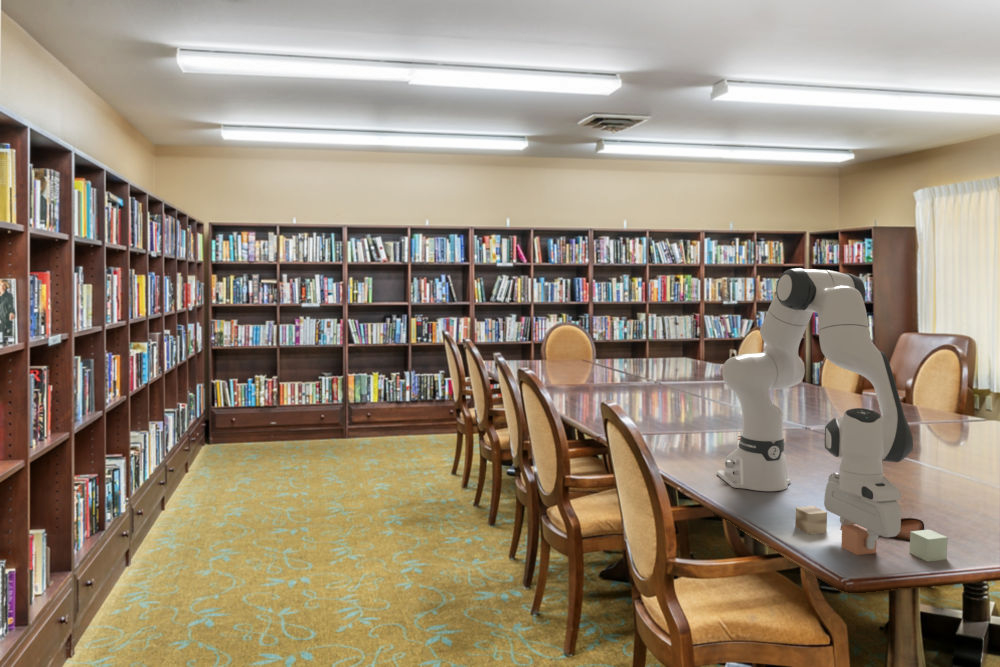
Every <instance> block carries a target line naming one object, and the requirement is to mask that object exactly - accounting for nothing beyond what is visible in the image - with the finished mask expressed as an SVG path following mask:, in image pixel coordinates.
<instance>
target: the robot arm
mask: <svg viewBox="0 0 1000 667" xmlns="http://www.w3.org/2000/svg"><path fill="white" fill-rule="evenodd" d="M776 283H777V284H776V289H775V290H776V293H775V296H774V297H773V299H772V301H771V303H770V305H769V307H768V310H767V312H766V314H765V316H764V318H763V321H762V323H761V326H760V329H759V334H760V337H761V339H762V340H763V342H764V343H765V344H766V347H765V349H764V350H763V351H761V352H753V353H742V354H738V355H735V356H732V357H730V358H728V359H727V360H725V362H724V364H723V367H722V379H723V382H724V383H725V385H726V386H727V388H728V389H730V390H731V391H732V392H733V393H734V394H735V395H736V397H737V399H738V402H739V404H740V408H741V414H742V415H741V417H742V420H741V421H742V423H741V424H742V435H738V436H737V440H738V445H737V446H738V447H737V448H736V449H735V450H733V451H732V452H731V453H730V454H727V455H726V457H725V461H724V468H723V469H719V470H717V471H716V475H717V476H718V477H719V478H721V480H723V481H724V482H726V483H727V484H728V485H730V486H731V487H732V488H735V489H736V488H737V489H746V490H750V491H751V490H752V491H759V492H777V491H784V490H786V489H787V488H788V487H789V486H788V485H790V484H791V478H788V466H787V465H788V463H787V455H785V454H784V453H783V452H784V451H785V438H783V435H784V433H783V431H784V425H783V424H784V414H783V411H782V410H781V408H780V407H779V406H777V405H776V404H774V403H773V402H772V399H771V396H770V391H774V390H776V391H777V390H784V389H789V388H791V387H794V386H797V385H799V384H800V383H801V382H802V381H803V379H804V378H805V372H806V369H805V364H804V360H803V359H802V357H800V356H799V348H800V344H801V341H802V339H803V337H804V334H805V333H806V332H805V331H806V330H807V327H808V325H809V323H810V320H811V318H812V315H813V314H814V313H815V314H817V317H818V338H819V347H820V351H821V352H822V354H823V356H824V357H825V358H826V359H827V360H828V361H829V362H830V363H831V364H833V365H834V366H837V367H839V368H840V369H841V368H842V369H844V370H847V371H850V372H851V373H855V374H857V375H860V376H862V377H863V378H865V379H866V380H867V381H869V382H870V383H871V385H872V386H873V388H874V391H875V392H874V393H875V396H876V401H877V404H878V407H879V411H880V413H879V412H877V411H875V410H872V409H868V408H865V407H864V408H863V407H862V408H861V407H857V408H850V409H847V410H845V412H844V413H843V415H842V416H840V417H834V418H832V419H831V420H830V421H829V422H828V423H827V424H826V425H825V427H824V449H825V450H827V451H828V452H829V453H830V454H831V455H832V456H834V457H835V458H841V460H840V464H839V472H833V473H831V474H829V476H828V481H827V484H826V486H825V490H824V492H825V493H824V498H823V500H824V501H823V506H824V508H825V510H826V512H830V513H831V514H834V515H836V516H838V517H839V522H840V525H842V526H843V525H851V522H853V523H855V524H857V525H859V526H861V527H863V528H866V529H867V534H869V536H868V538H867V539H864V547H866V548H868V549H874V548H875V541H876V540H878V538H879V535H881V536H880V537H883V538H890V537H894V536H897V535H898V534H899V532H900V527H901V517H902V513H901V506H900V504H899V502H898V501H899V500H901V498H902V492H901V490H900V489H899V488H897V487H896V486H895V485H894V484H893V483H891V482H890V480H889V479H888V478H887V477H885V476H884V466H883V462H888V463H889V462H890V463H899V462H902V461H903V460H904V459H906V458H908V456H909V455H910V454H911V453H912V452H913V449H914V440H913V439H914V437H913V434H912V431H911V427H910V426H909V423H908V420H907V418H906V415H905V412H904V409H903V406H902V402H901V397H900V393H899V391H898V386H897V383H896V381H895V377H894V373H893V370H892V367H891V363H890V361H889V359H888V357H887V355H886V353H885V352H884V351H882V350H879V349H878V348H877V347H876V345H875V344H874V342H873V340H872V338H871V335H870V331H869V330H870V327H869V319H868V314H867V309H866V305H865V301H864V300H865V298H866V288H865V287H866V286H865V283H864V282H863V280H862V279H861V278H860V277H859V276H856V275H854V274H851V273H848V272H845V273H842V272H839V271H836V270H835V271H834V270H830V269H809V268H807V269H806V268H805V269H804V268H801V267H798V268H797V267H796V268H791V269H787V270H785V271H783V273H781V275H780V277H779V278H778V281H777V282H776ZM876 542H877V541H876Z"/></svg>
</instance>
